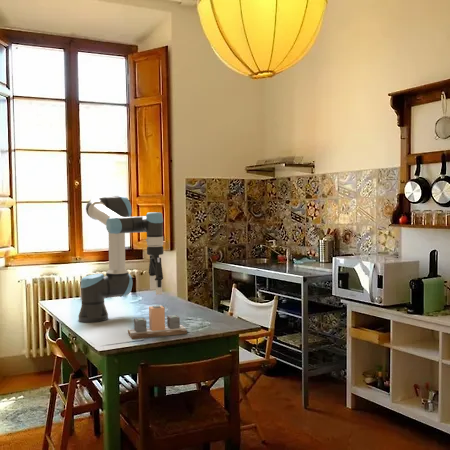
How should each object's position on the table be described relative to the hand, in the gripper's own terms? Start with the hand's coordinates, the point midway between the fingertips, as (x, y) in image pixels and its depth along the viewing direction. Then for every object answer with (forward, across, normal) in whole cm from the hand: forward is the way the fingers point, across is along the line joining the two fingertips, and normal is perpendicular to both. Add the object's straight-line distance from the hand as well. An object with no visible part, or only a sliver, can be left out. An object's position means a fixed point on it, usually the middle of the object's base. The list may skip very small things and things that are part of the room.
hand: (155, 292), depth 244 cm
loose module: (+17, 0, 0) cm, 17 cm away
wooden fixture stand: (+19, 0, 0) cm, 19 cm away
